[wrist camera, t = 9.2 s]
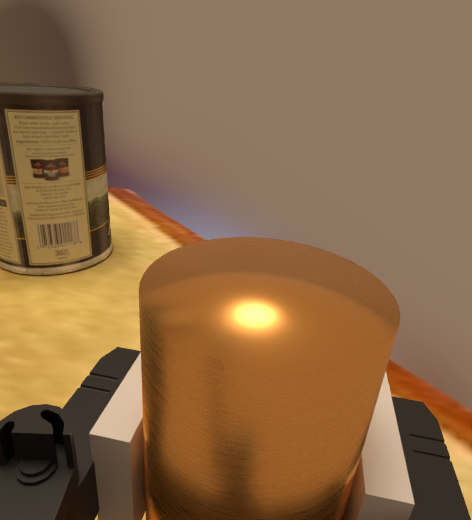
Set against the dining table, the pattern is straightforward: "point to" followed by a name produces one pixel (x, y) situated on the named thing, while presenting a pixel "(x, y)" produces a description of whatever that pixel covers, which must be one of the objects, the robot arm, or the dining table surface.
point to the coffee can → (52, 179)
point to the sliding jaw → (258, 378)
